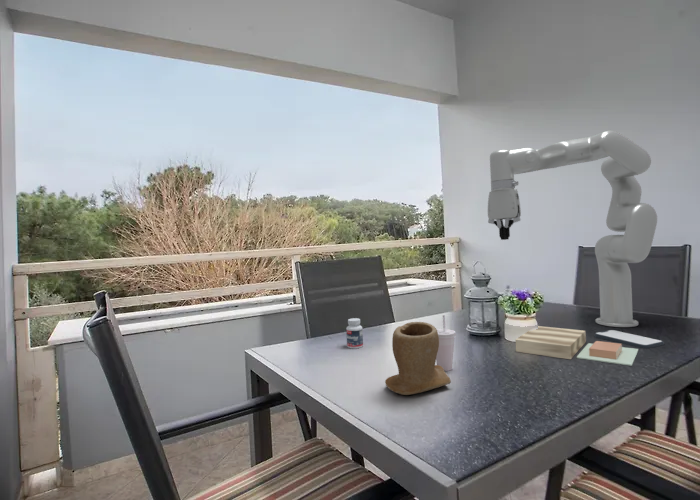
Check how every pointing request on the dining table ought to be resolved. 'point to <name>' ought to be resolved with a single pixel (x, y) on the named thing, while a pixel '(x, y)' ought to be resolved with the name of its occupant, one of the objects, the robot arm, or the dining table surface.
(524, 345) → the block
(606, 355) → the tile
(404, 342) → the stone cup
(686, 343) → the dining table surface
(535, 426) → the dining table surface
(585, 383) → the dining table surface
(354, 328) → the pill bottle
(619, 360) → the mat
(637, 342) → the phone case
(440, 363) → the smoothie
